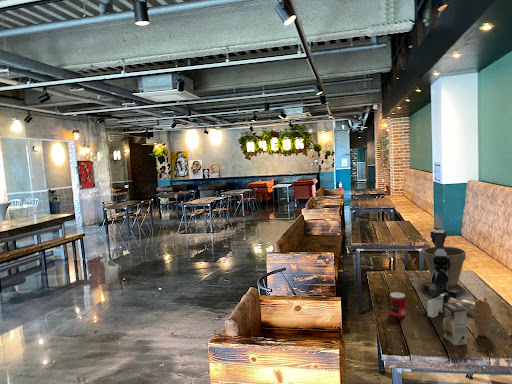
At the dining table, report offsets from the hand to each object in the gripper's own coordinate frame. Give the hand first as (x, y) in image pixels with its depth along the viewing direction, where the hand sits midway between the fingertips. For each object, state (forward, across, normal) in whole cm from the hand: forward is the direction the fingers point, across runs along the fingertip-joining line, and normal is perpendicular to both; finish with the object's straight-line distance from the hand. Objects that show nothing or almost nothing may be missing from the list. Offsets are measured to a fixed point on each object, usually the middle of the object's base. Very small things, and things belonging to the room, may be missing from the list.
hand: (441, 306), depth 208 cm
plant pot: (+3, -23, +43) cm, 49 cm away
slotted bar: (+3, 0, -4) cm, 5 cm away
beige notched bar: (+3, +5, +8) cm, 10 cm away
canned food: (+3, -13, -20) cm, 24 cm away
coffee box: (+3, +21, -26) cm, 34 cm away
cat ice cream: (+3, +27, -13) cm, 30 cm away
